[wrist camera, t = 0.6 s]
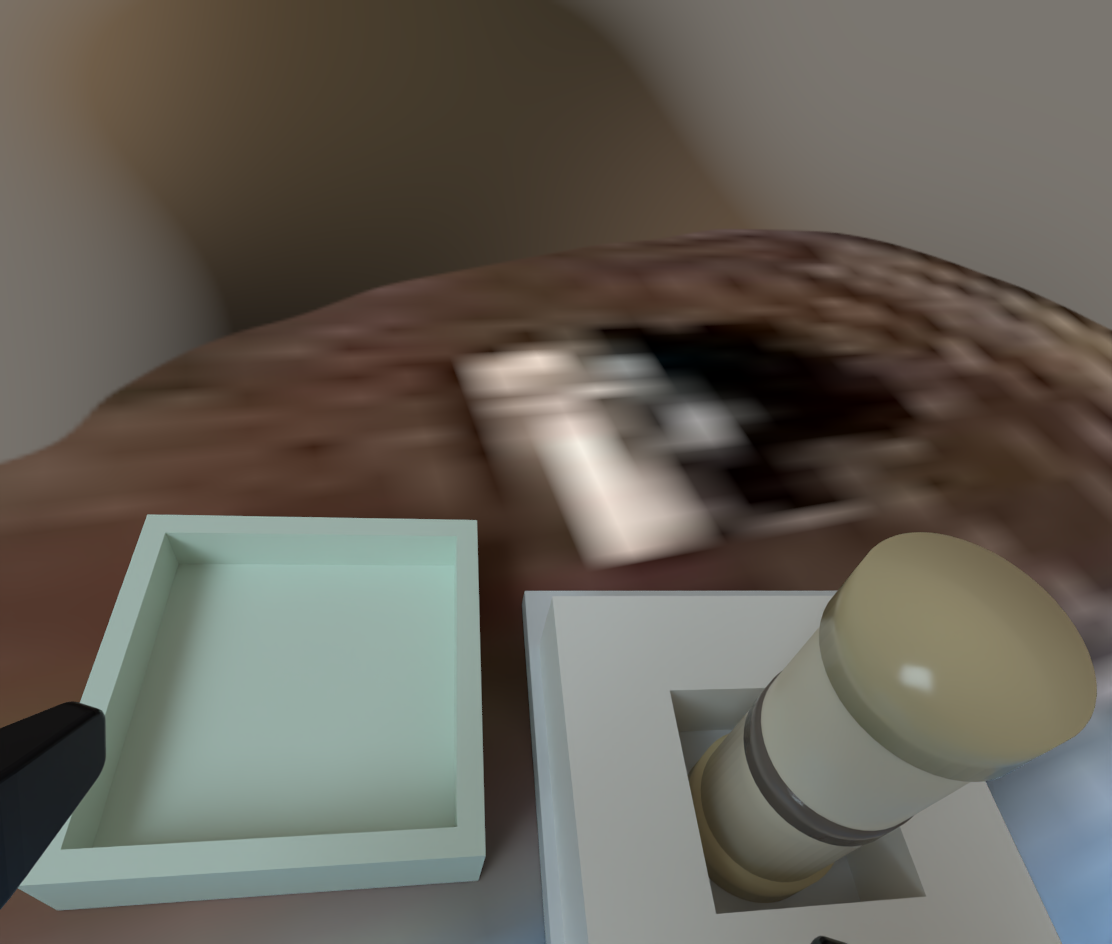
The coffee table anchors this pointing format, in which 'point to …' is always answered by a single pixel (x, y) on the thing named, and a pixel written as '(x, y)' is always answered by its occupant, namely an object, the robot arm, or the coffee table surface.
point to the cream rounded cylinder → (889, 712)
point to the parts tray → (282, 715)
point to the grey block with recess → (666, 802)
